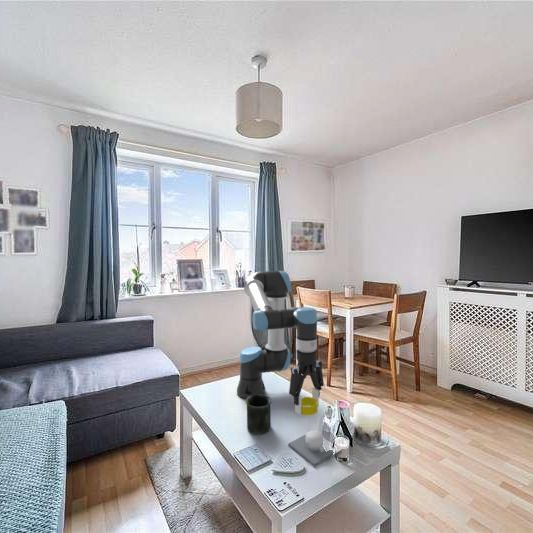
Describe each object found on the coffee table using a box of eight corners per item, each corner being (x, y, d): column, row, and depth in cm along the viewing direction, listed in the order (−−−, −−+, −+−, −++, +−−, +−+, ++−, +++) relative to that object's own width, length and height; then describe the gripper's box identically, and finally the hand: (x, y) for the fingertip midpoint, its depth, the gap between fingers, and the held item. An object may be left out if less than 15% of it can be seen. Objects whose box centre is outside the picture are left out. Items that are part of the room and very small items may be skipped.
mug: (249, 438, 119) (249, 409, 119) (242, 418, 133) (241, 392, 133) (275, 433, 122) (274, 405, 122) (265, 414, 136) (264, 389, 136)
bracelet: (321, 410, 111) (321, 402, 111) (306, 418, 106) (306, 409, 106) (307, 403, 117) (307, 395, 117) (292, 409, 112) (292, 401, 112)
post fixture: (288, 445, 114) (288, 433, 114) (314, 432, 123) (314, 420, 122) (314, 466, 103) (314, 453, 103) (340, 450, 111) (341, 437, 111)
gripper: (291, 358, 102) (291, 422, 103) (333, 346, 113) (333, 404, 114) (278, 352, 108) (278, 413, 109) (319, 342, 120) (319, 397, 121)
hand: (307, 408), depth 112 cm, fingers closed on bracelet, 8 cm apart
